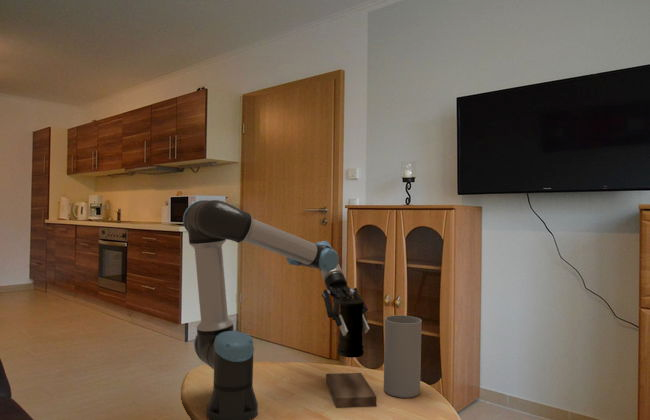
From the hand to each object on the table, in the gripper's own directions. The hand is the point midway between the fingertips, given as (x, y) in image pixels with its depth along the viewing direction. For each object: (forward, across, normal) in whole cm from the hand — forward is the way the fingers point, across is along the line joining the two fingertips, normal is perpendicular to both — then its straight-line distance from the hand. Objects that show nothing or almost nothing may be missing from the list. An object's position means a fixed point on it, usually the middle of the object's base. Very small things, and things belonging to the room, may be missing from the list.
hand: (356, 332), depth 153 cm
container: (+3, 0, -8) cm, 9 cm away
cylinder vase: (+18, -17, -13) cm, 28 cm away
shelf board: (+13, 0, -18) cm, 22 cm away
